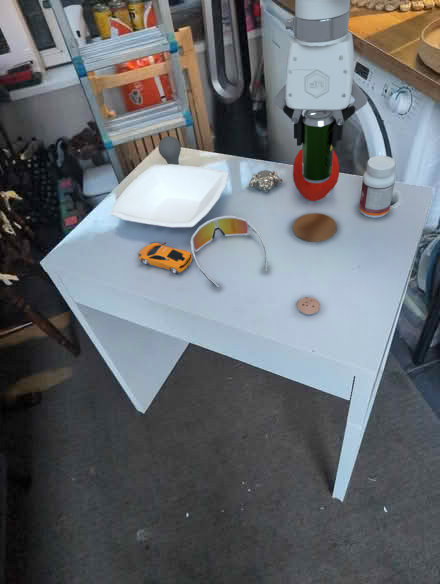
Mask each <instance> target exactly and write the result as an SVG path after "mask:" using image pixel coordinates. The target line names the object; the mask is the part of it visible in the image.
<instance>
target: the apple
mask: <svg viewBox="0 0 440 584" xmlns="http://www.w3.org/2000/svg"><path fill="white" fill-rule="evenodd" d="M339 164H340V163H339V159H338V156H337V153H336V152H335V150H334V149H333V160H332V174H331V176H330V177H329V179H328V180H327V181H325V182H322V183H310V182H307V181H306V180H305V179H304V177H303V175H302V148H301V149H300V150H299V151H298V152H297V154H296V156H295V158H294V161H293V164H292V180H293V183H294V185H295V188H296V190H298V193H299V194H300V195H301V196H302V197H303V198H304V199H306V200H307V201H309V202H317V201H321V200H322V199H324V198H326V196H328V194H329V193H330V192H331V191H332V190H333V189H334V188H335V186H336V185H337V183H338V181H339V177H340V165H339Z"/></svg>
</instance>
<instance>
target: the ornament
mask: <svg viewBox="0 0 440 584" xmlns="http://www.w3.org/2000/svg"><path fill="white" fill-rule="evenodd" d="M249 180H250V181H249V183H248V188H249V189H250V188H251V189H255V190H260V191H263V192H270V191H271V189H273V188H274V187H277V186H278V185H281V184H282V183H283V178H281V177H280V176H279V175H278V172H277V171H275V170H268V169H264V170H260V171H258V172H257V173H253V175H252V177H251V179H249Z"/></svg>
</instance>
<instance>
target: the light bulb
mask: <svg viewBox="0 0 440 584" xmlns="http://www.w3.org/2000/svg"><path fill="white" fill-rule="evenodd" d="M157 149H158V152H159V154H160V156H161V157H162V158H163V159H164V160H165V162H166V164H175V165H180V154H181V150H182V146H181V142H180V141H179V140H178V139H177V138H176V137H175V136H171V135H166V136H164V137H162V139H160V141H159V143H158V147H157Z"/></svg>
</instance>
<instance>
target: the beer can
mask: <svg viewBox="0 0 440 584" xmlns="http://www.w3.org/2000/svg"><path fill="white" fill-rule="evenodd" d="M303 116H304V117H303V119H302V145H301V147H302V148H301V149H302V175H303V177H304V179H305V180H306V181H307V182H310V183H322V182H325V181H327V180H328V179H329V177H330V176H331V174H332V160H333V150H334V147H332V134H333V125H334V122H335V116H334V112H333V110H304V111H303Z"/></svg>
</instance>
